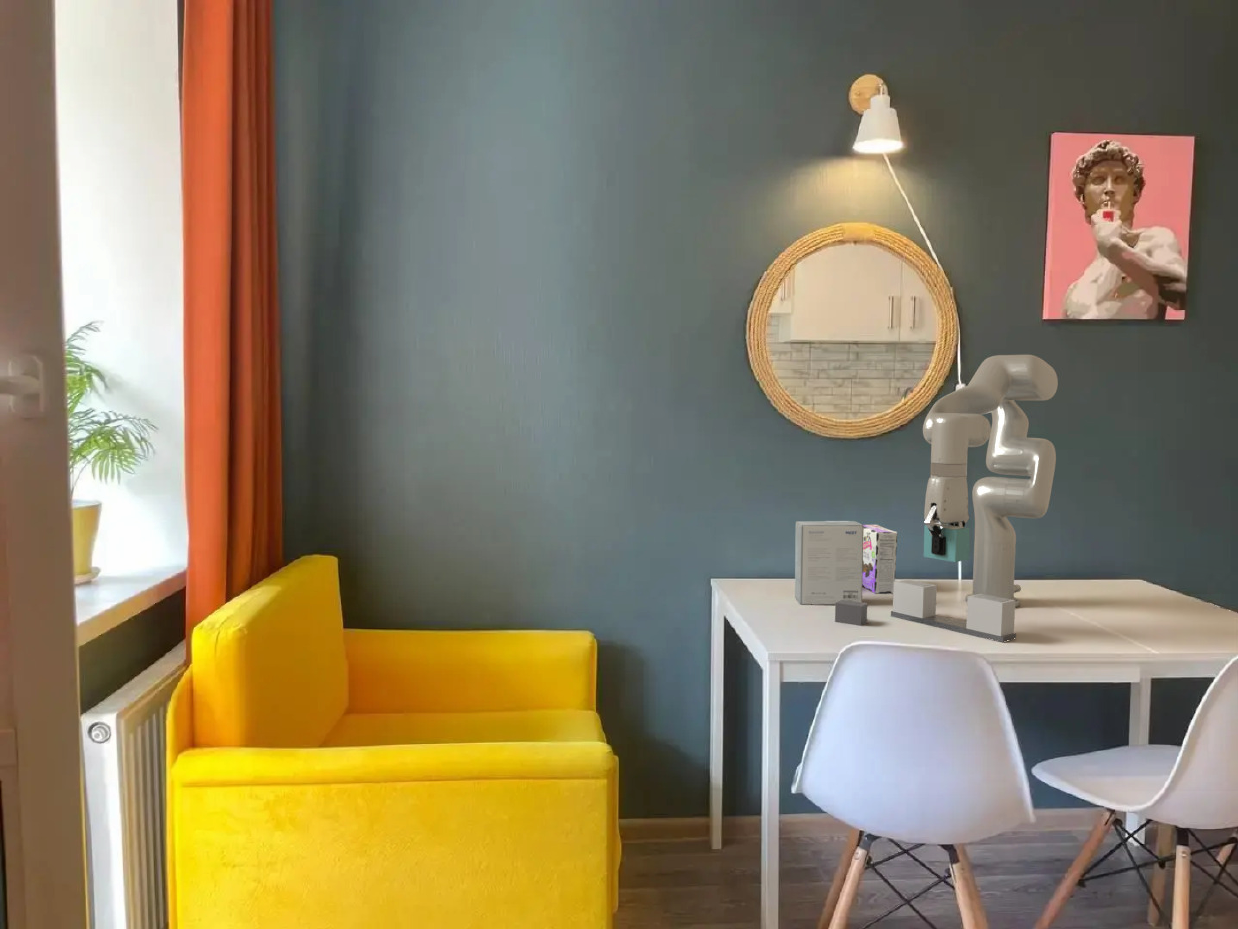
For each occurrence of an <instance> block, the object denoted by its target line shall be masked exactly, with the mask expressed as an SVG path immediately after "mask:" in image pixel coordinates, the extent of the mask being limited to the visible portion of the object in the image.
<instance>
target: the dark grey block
mask: <svg viewBox="0 0 1238 929" xmlns="http://www.w3.org/2000/svg"><path fill="white" fill-rule="evenodd" d="M834 622H835V623H838V624H839V623H840V624H844V625H846V624H847V625H853V626H860V627H862V626H864V625H865V624H866V623H867V622H868V603H867V602H863V601H862V602H854V601H847V600H840V601H838V602H836V604H835V609H834Z"/></svg>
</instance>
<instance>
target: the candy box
mask: <svg viewBox="0 0 1238 929" xmlns="http://www.w3.org/2000/svg"><path fill="white" fill-rule="evenodd" d="M862 525H863V526H864V531H863V575H862V587H863V586H864V587H865V589H866V590H868V589H869V590H868V591H870V590H871V591H872V592H871V591H870V592H871V593H873V592H874V593H873V594H887V593H893V590H894V582H895V581H896V568H897V546H898V531H895V530H892V529H888V528H885V527H884V526H881V525H879V524H862ZM864 587H863V588H864Z"/></svg>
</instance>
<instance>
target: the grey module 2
mask: <svg viewBox="0 0 1238 929" xmlns="http://www.w3.org/2000/svg"><path fill="white" fill-rule="evenodd" d="M966 602H967V601H966ZM966 605H967V606H966V608H967V609H966V622H967V626H966V628H967V629H971V630H976V631H980V632H984V633H989V634H993V635H997V636H1004V635H1008V634H1012V633H1015V619H1016V618H1015V617H1016V616H1015V615H1016V607H1015V600H1011V599H1005V598H1000V597H995V596H990V595H985V594H977V595H972V596H968V602H967V604H966Z"/></svg>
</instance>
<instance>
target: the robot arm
mask: <svg viewBox="0 0 1238 929" xmlns="http://www.w3.org/2000/svg"><path fill="white" fill-rule="evenodd" d="M1058 380H1059V378H1058V375H1057V373H1056V371H1055V369H1054V367H1053V366H1051V365H1050V364H1049V363H1047V362H1046V361H1045V360H1043V359H1042V358H1040V357H1038V356H1036V355H1035V354H1034V355H1033V354H997V355H992V356H990V357H987V358H985V359H984V360H983V361H982V362H981V364H980V365H979V366H978V368H977V370H976V371H975V373H974V375H973V376H972V378H971V380H970V381H969V382H968V384H967V385H965V386H963V387H961V388H959V389H956V390H954V391H952V392H951V393H949V394H948V393H947V394H946V395H944V396H942V397H941V398H939V399H938V400H937V401H936V402H935V403H934V404H933V405H932V406H931V409H930V410H929V412H928V413H927V415H926V417H925V419H924V421H923V425H922V436H923V438H924V439H925V441H926V442H927V443H928V444H929V445H931V447H930V448H931V449H930V453H931V454H930V477H929V478H928V480H927V485H926V490H925V491H926V492H925V500H924V501H925V502H924V513H923V514H924V515H923V516H924V526H925V525H926V526H927V527H928V529H929V531H930V535H931V536H932V547H931V553H932V554H936V555H942V556H943V555H945V550H946V537H944V533H945V528H946V525H952V526H959V527H966V523H968V521H969V519H970V516H969V491H968V489H969V488H968V480H967V477H968V450H969V448H977V447H982V446H983V445H985V444H986V443H987V442H988V443H987V449H986V458H985V465H986V468H987V469H988V470H989V472H992V473H993V474H994V473H995V474H996V475H997V474H999V475H1006V477H1003V476H985V477H981V478H979V479H978V480H977V481H976V482H975V483H974V484H973V487H972V494H971V496H972V504H973V510H974V543H973V544H974V546H973V567H972V568H973V569H972V570H973V573H972V592H971V593H968V594H966V596H965V601H966V602H968V596H972V595H977V594H985V595H990V596H995V597H1000V598H1005V599H1011V600H1015V608H1017V607H1019V606H1020V605H1021V600H1020V599H1019V598H1017V597H1015V596H1014V595H1015V593H1020V592H1021V590H1022V586H1021V585H1019V584H1015V568H1016V567H1015V565H1016V545H1017V544H1016V543H1017V534H1016V530H1015V529H1014V526H1013V525H1012V523H1011V522H1010V520H1009V519H1008V517H1009V518H1010V517H1013V518H1021V519H1022V518H1023V519H1024V518H1025V519H1039V518H1043V517H1044V516H1045V515H1046V513H1047V511H1048V510H1049V506H1050V505H1049V504H1050V501H1051V500H1050V499H1051V495H1052V494H1051V493H1052V487H1053V482H1054V476H1055V470H1056V464H1057V463H1056V462H1057V456H1056V455H1057V453H1056V448H1055V446H1054V444H1053V442H1052V441H1050V440H1048V439H1047V438H1041V437H1040V438H1039V437H1028V431H1029V424H1030V423H1029V419H1028V417H1027V415H1026V412H1024V410H1022V408H1021V407H1020V406H1019V405H1018V403H1016V401H1039V402H1040V401H1048V400H1050V399H1052V398H1053V397H1054V396H1055V394H1056V392H1057V390H1058V386H1059V385H1058V384H1059V381H1058ZM989 413H991V417H992V418H991V419H992V423H991V424H990V421H989V420H988V418H987V417H986V416H984V415H987V414H989ZM1007 475H1008V476H1021V477H1030V478H1020V477H1019V478H1016V477H1015V478H1014V477H1007ZM937 525H939V526H940V529H939V528H938V526H937Z"/></svg>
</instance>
